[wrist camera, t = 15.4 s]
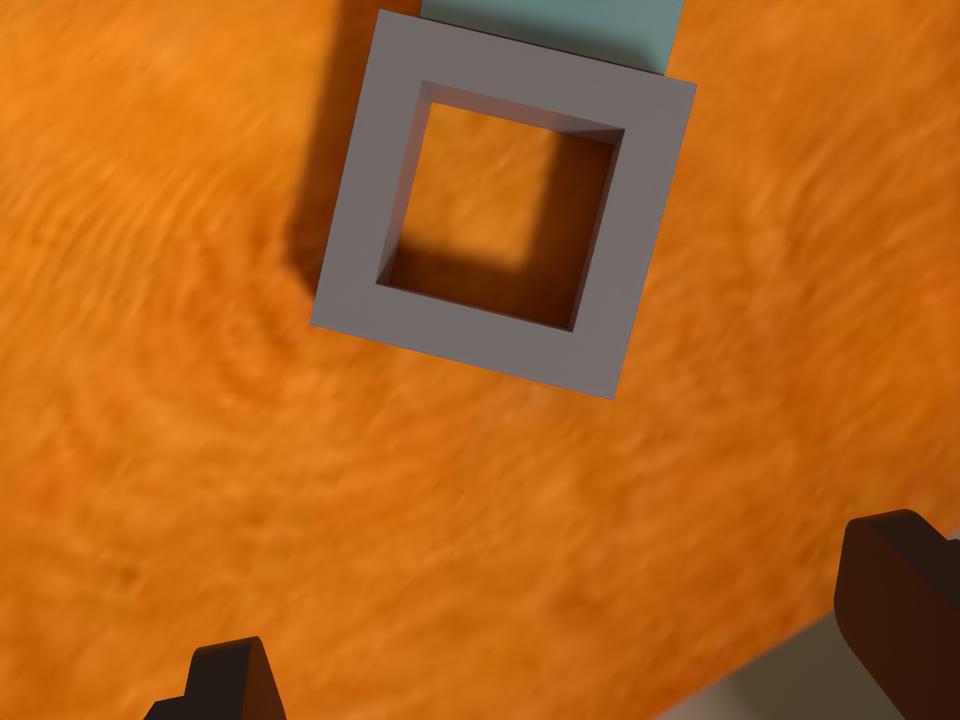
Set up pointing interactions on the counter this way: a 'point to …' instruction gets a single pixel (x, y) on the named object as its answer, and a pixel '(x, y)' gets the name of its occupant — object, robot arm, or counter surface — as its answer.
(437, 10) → the coaster
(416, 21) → the cup dock
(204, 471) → the counter surface
